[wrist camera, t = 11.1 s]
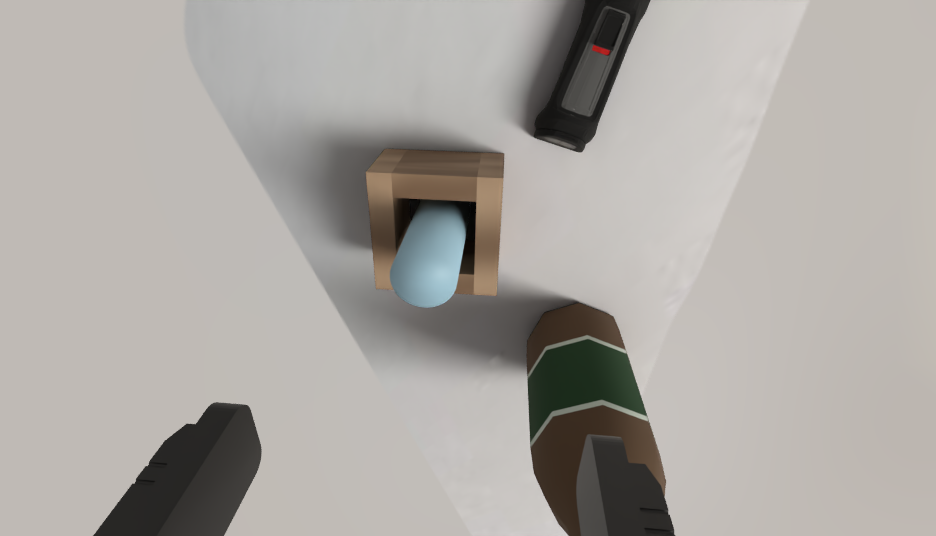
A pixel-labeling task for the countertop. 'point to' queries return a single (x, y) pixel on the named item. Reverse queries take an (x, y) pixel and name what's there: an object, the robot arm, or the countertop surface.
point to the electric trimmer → (589, 72)
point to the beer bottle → (581, 402)
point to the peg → (431, 253)
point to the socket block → (437, 179)
